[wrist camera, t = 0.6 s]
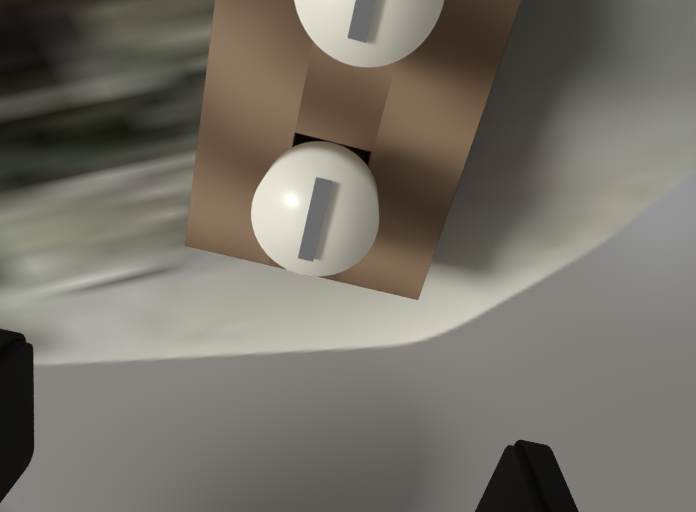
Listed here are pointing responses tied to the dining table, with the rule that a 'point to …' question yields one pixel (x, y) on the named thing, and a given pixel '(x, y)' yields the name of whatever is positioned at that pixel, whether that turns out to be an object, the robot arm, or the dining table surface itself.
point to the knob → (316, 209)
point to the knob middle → (368, 28)
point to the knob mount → (343, 127)
